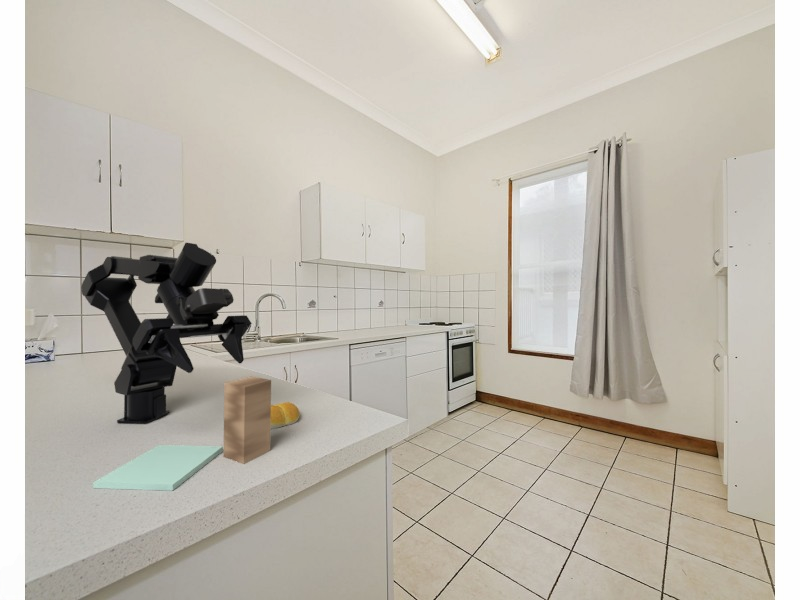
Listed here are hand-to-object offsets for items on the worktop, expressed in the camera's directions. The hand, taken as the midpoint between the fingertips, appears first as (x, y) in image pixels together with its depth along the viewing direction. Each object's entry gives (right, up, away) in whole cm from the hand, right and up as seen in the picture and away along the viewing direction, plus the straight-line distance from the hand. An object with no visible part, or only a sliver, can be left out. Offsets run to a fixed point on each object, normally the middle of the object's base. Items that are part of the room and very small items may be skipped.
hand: (218, 366), depth 56 cm
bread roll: (+6, -14, +10) cm, 19 cm away
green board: (-3, -14, -9) cm, 16 cm away
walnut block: (+7, -14, -4) cm, 16 cm away
